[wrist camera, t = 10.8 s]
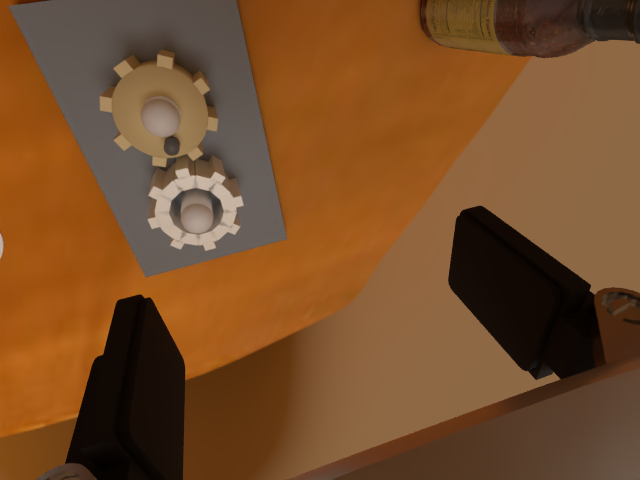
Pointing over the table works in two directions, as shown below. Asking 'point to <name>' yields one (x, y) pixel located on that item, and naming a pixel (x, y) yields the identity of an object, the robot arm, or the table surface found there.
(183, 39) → the gear board
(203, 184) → the gear
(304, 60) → the table surface
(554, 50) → the sauce bottle
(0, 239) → the teacup and saucer
